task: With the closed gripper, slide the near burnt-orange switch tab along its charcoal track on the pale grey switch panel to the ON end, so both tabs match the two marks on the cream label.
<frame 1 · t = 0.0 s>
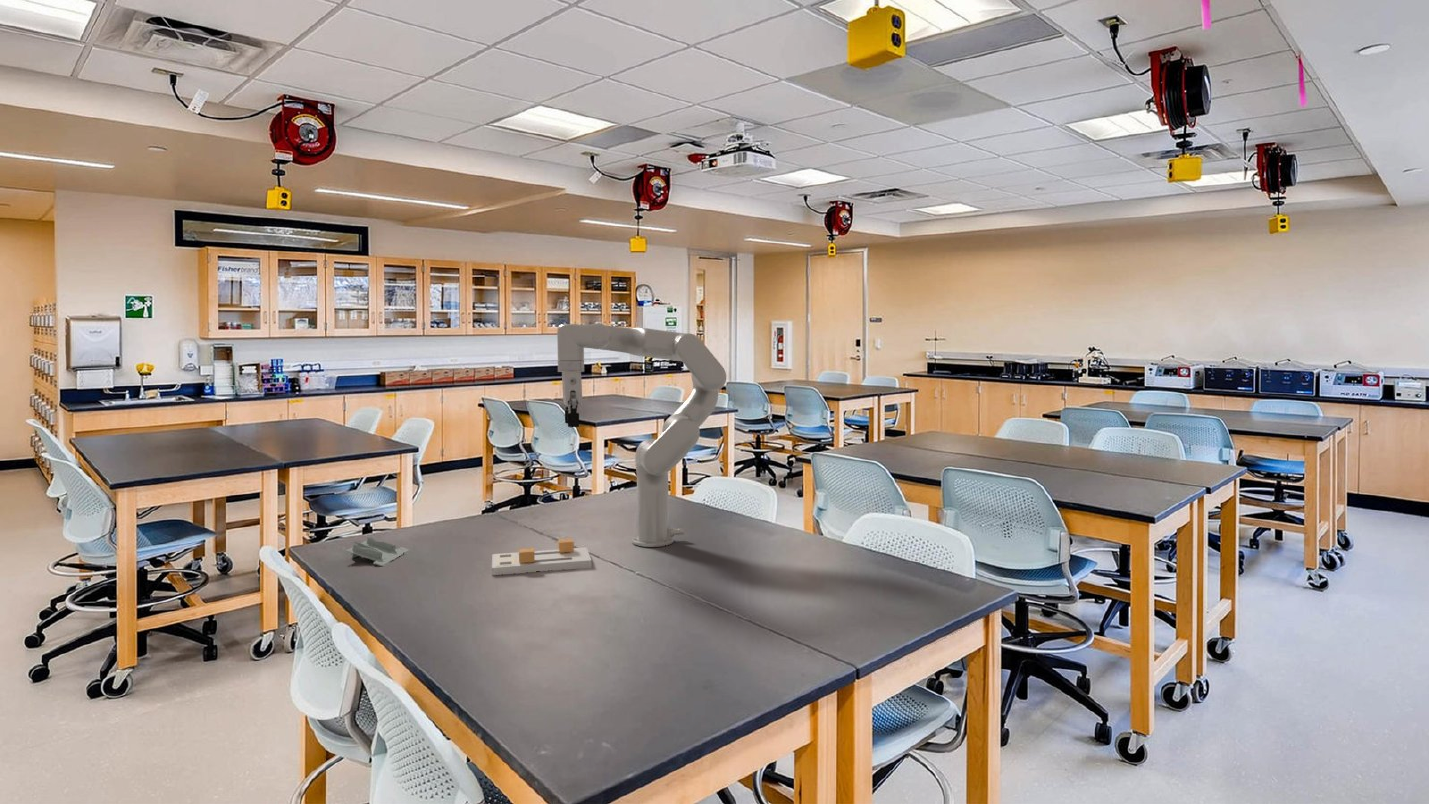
hand: (571, 425, 223), 37 cm above the table, tool pointing down, fingers open, 9 cm apart
metal bracket: (376, 559, 217), on the table
switch panel: (541, 564, 210), on the table
switch tab B: (526, 555, 205), point 4 cm above the table, slide at 11.0 cm
switch tab A: (565, 545, 215), point 4 cm above the table, slide at 0.0 cm
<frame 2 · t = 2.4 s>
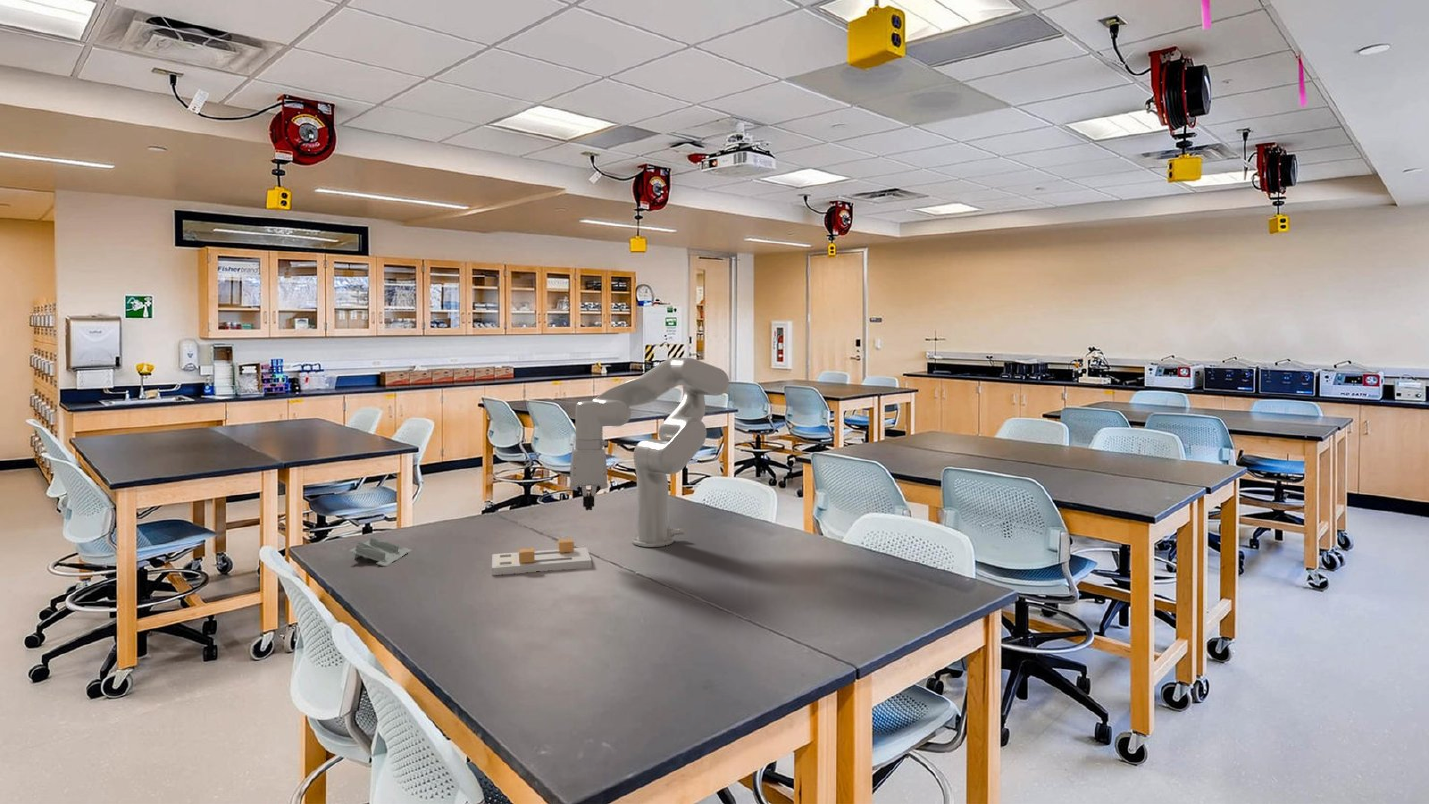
hand: (588, 509, 216), 14 cm above the table, tool pointing down, fingers closed
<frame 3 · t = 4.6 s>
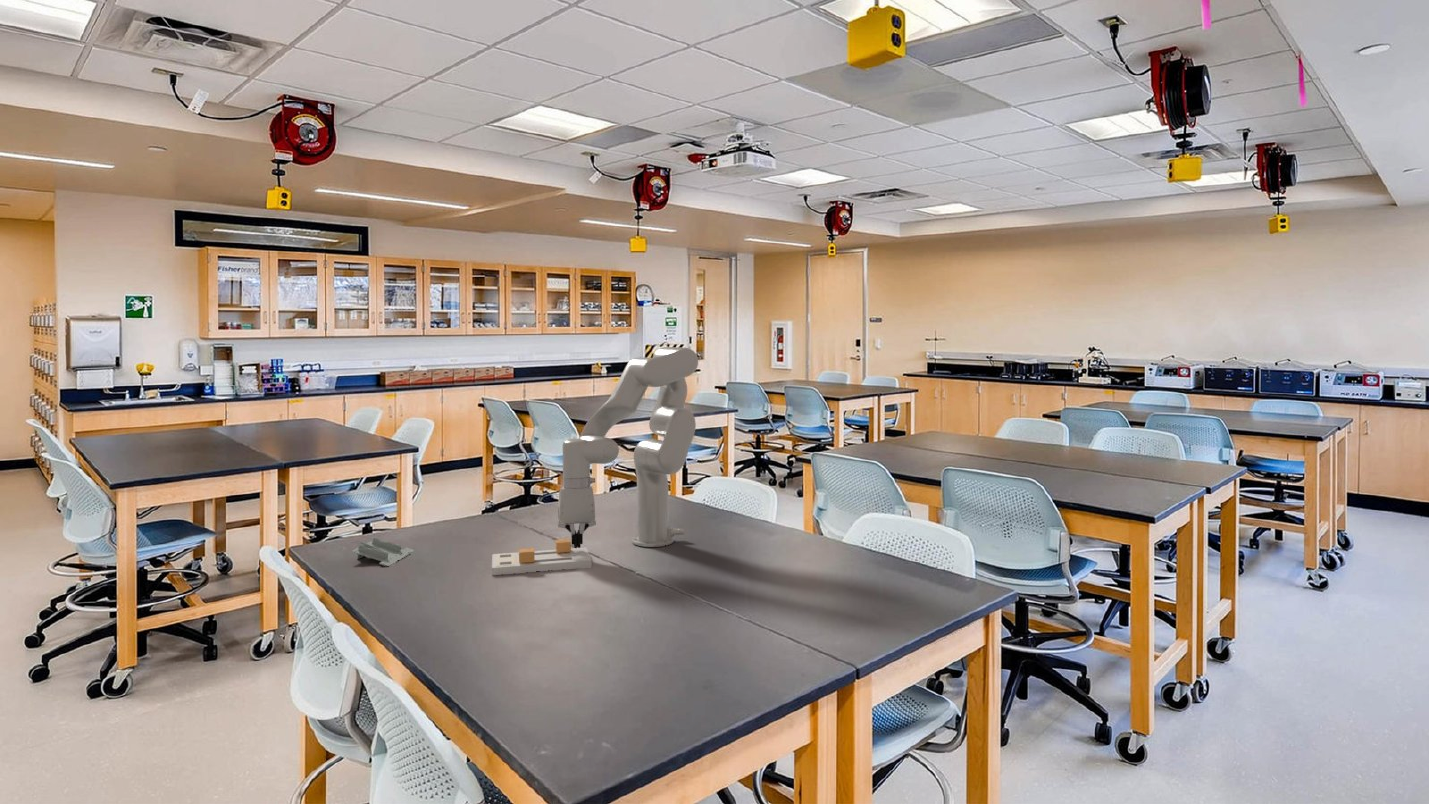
hand: (577, 546, 216), 3 cm above the table, tool pointing down, fingers closed
switch tab A: (563, 545, 215), point 4 cm above the table, slide at 0.8 cm, touching gripper
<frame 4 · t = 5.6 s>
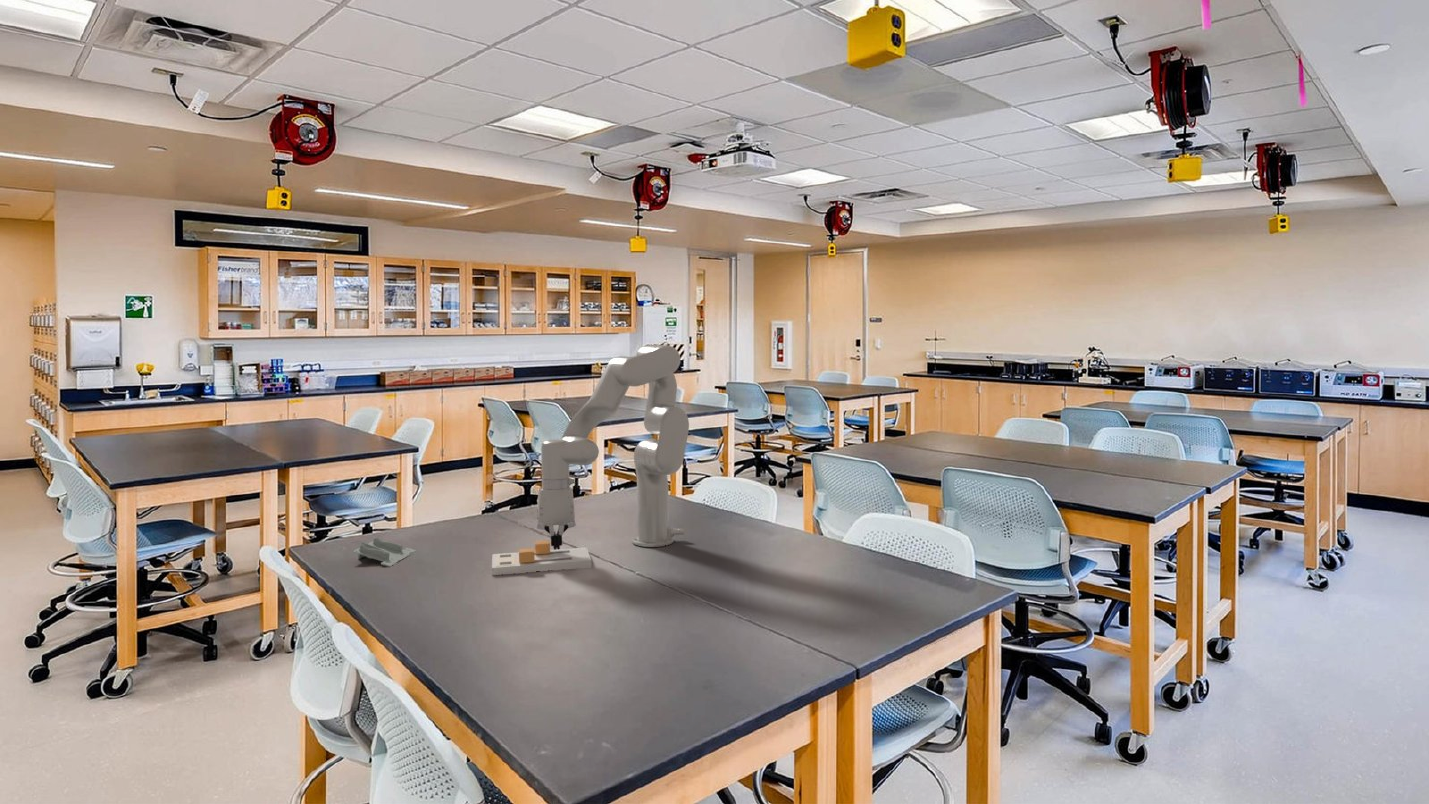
hand: (556, 548, 214), 3 cm above the table, tool pointing down, fingers closed
switch tab A: (542, 547, 213), point 4 cm above the table, slide at 6.5 cm, touching gripper
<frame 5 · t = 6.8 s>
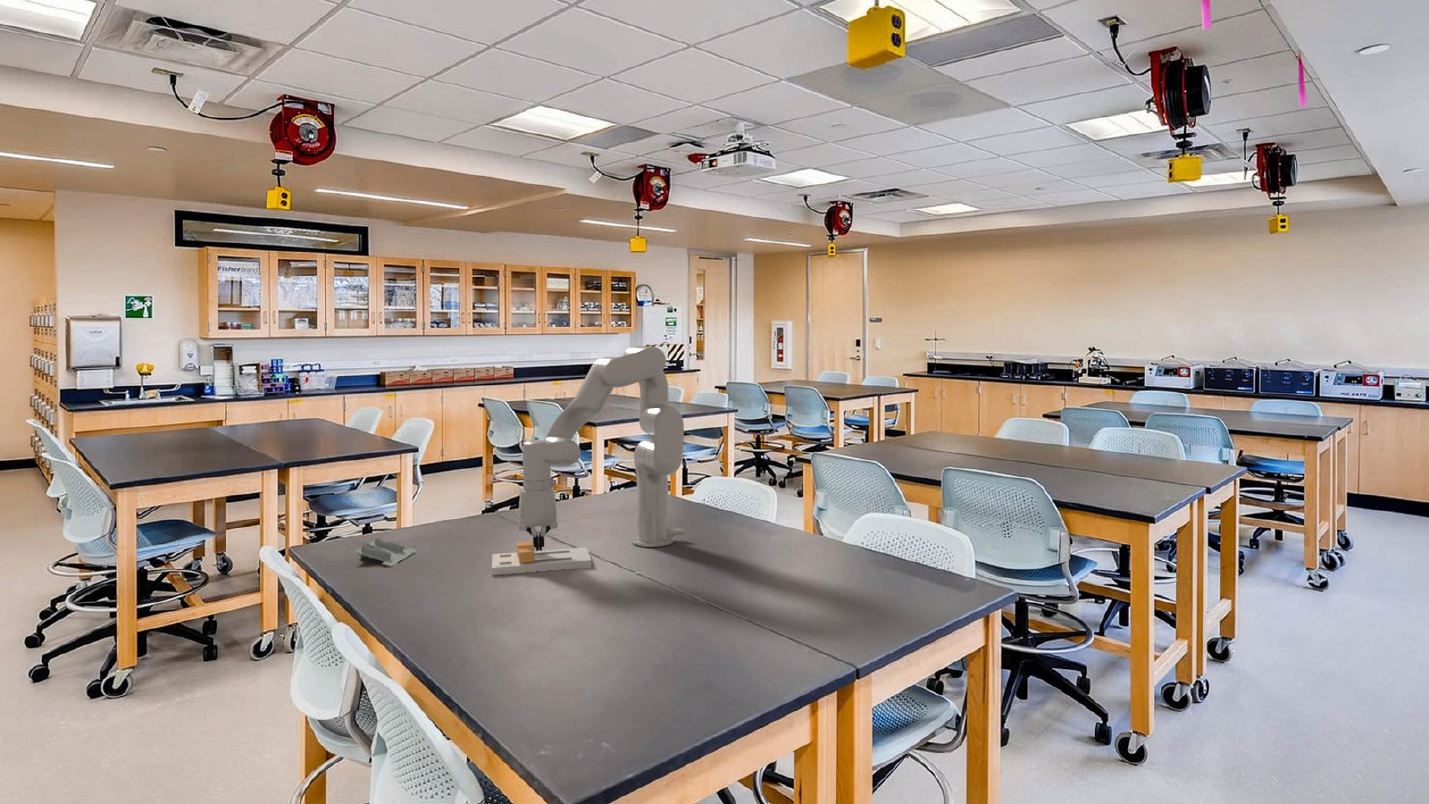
hand: (538, 549, 213), 3 cm above the table, tool pointing down, fingers closed
switch tab A: (524, 548, 212), point 4 cm above the table, slide at 11.3 cm, touching gripper
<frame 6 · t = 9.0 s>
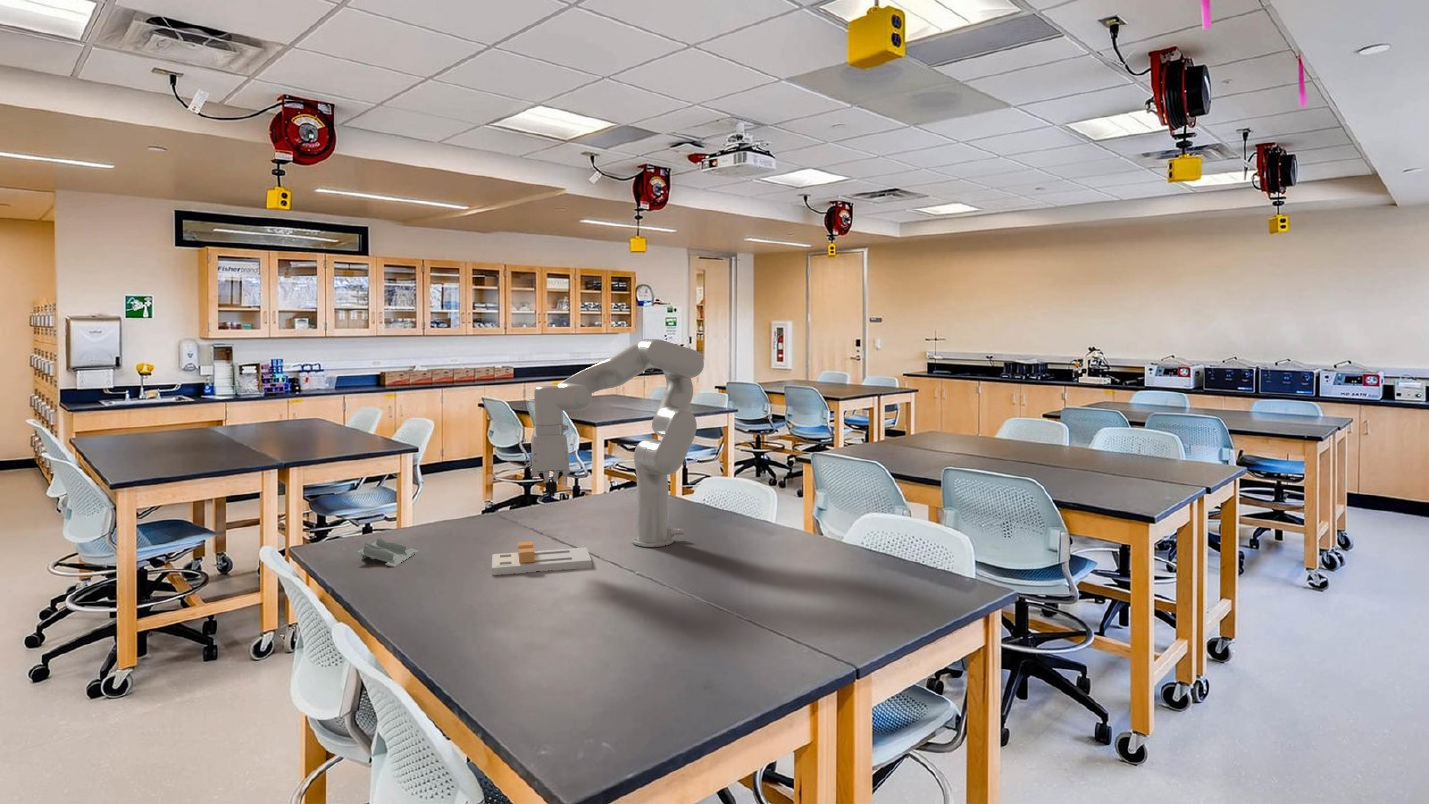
hand: (551, 495, 213), 18 cm above the table, tool pointing down, fingers closed
switch tab A: (525, 548, 212), point 4 cm above the table, slide at 11.1 cm
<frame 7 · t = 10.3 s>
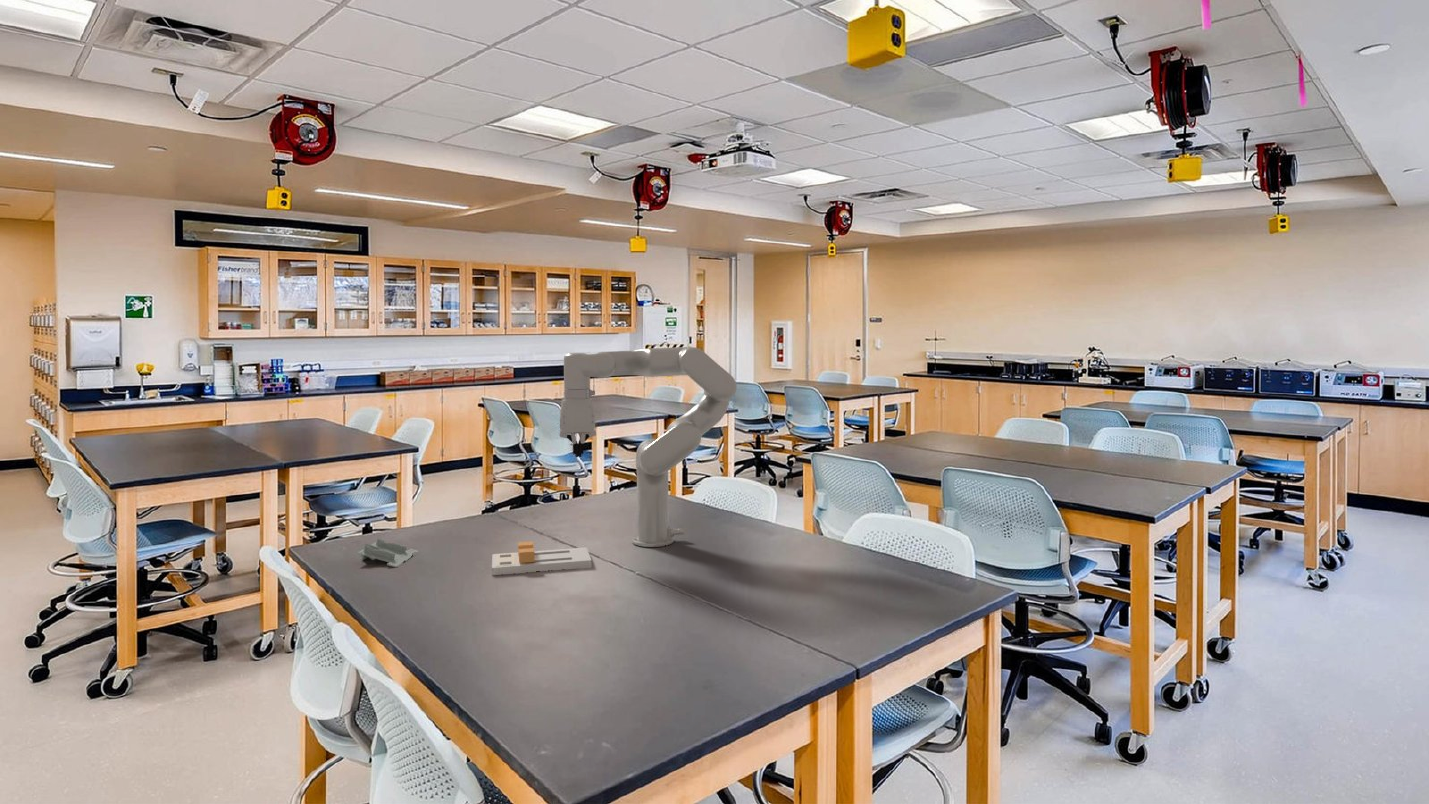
hand: (578, 456, 226), 27 cm above the table, tool pointing down, fingers closed
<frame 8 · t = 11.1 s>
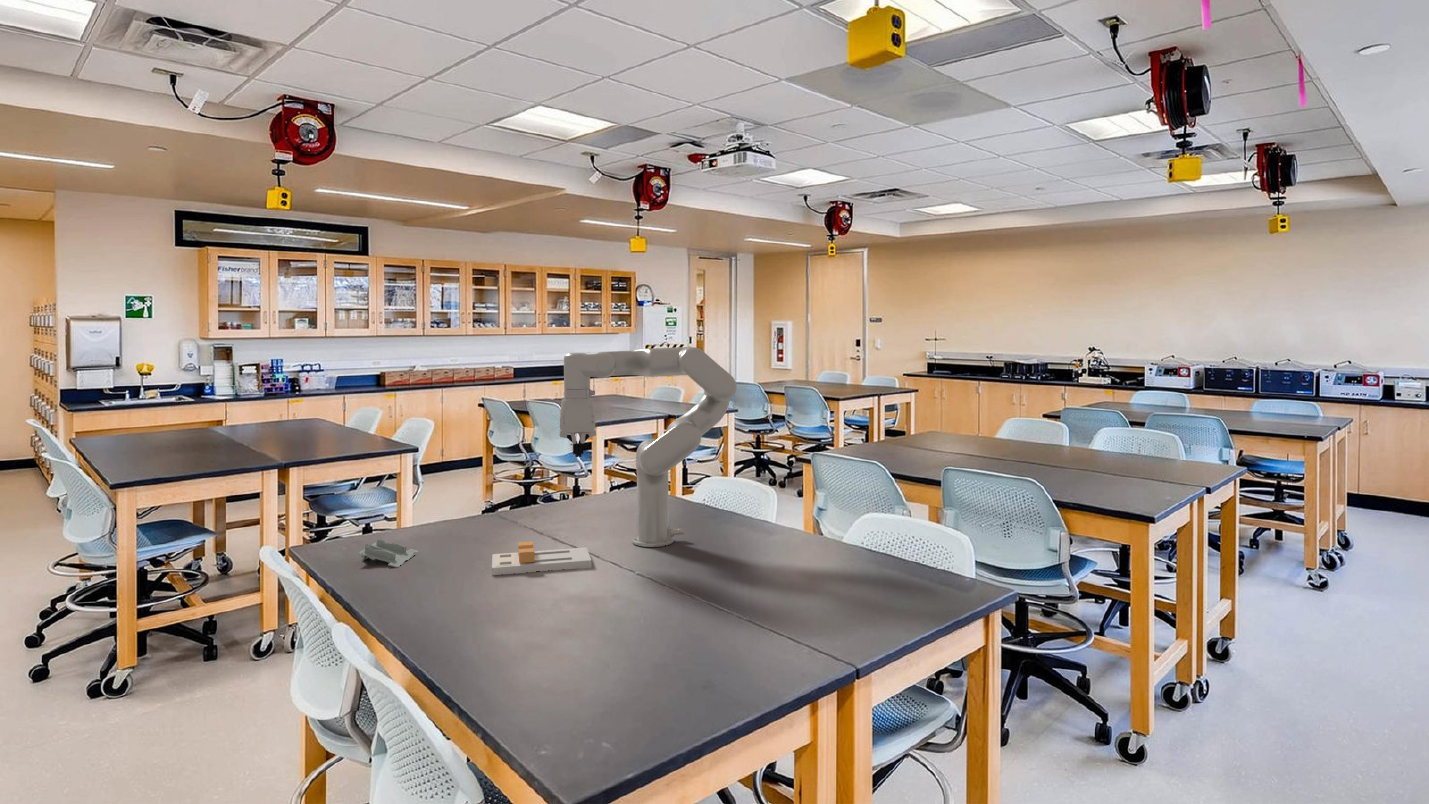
hand: (578, 456, 226), 27 cm above the table, tool pointing down, fingers closed
at the end: switch tab A slide at 11.1 cm; switch tab B slide at 11.0 cm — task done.
